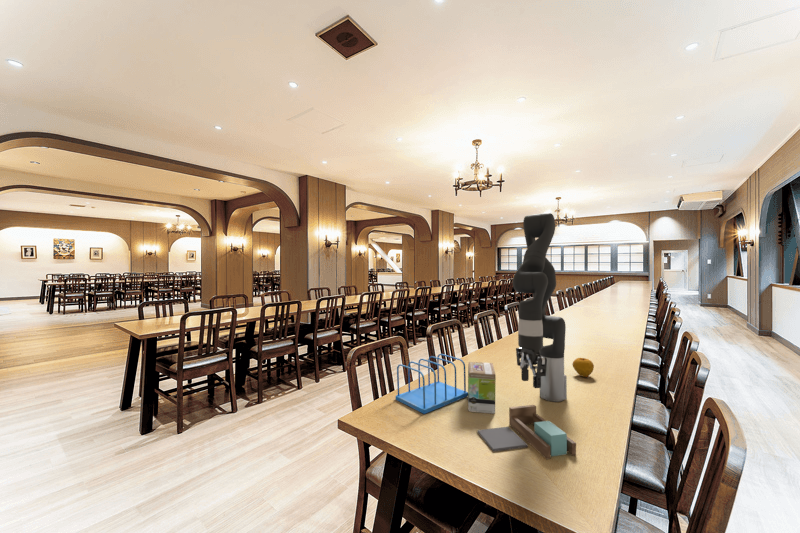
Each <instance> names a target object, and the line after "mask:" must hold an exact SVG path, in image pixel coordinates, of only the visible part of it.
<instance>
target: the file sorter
mask: <svg viewBox="0 0 800 533" xmlns="http://www.w3.org/2000/svg"><path fill="white" fill-rule="evenodd" d="M440 356H442V357H448V358H451V359H454V360H458V361H460V362H461V363H462V365H463V389H461V388H458V387H457V367H456V365H455V364H454V362H453V361H450V360H448V359H445V358H440ZM431 358H432V359H437V360H436V362H435V361H432V360H431ZM421 361H424V362H427V365H425V364H422V363H421ZM439 361H443V362H446V363H448V364H449V363H450V364H451V365H452V366H453V368H454V386H452V385H450V384H448V383H447V370H446V368H445V366H444V365H443V364H442V363H441V364H440V362H439ZM430 363H431V364H434V365H436V366H437V367H436V368H437V369H436V370H437V371H436V372H437V373H436V372H435V370H434V368H432V367H431V366H430ZM411 364H414V365H417V369H416V368H413V367H410V366H411ZM400 367H403V368H406V369H407V376H408V378H407V379H408V383H407V384H408V385H407V386H408V388H407V389H408V391H406V392H402V393H400V376H399V369H400ZM421 367H423V368H426V369H427V371H428V372H427V373H428V374H427V375H428V377H427V378H428V379H427V380H428V381H427V382H428V384H426V385H425V381H426V380H425V376H424V374H423V372H422V371H421ZM440 367H441V368H442V369H443V372H444V374H443V377H444V382H441V381H440ZM411 370H412V371H414V372H417V373H418V374H417V375H418V377H417V378H418V387H417V388H414V389H411V377H410V376H411ZM430 371H432V373H433V376H434V377H433V382H432V383H431V381H430V380H431V379H430V378H431V377H430V376H431V374H430V373H431V372H430ZM436 374H437V375H436ZM421 377H422V386H421ZM396 380H397V382H396V384H397V394H396V395H395V400H396V401H397V402H399V403H402V404H403V405H406V406H408V407H409V408H412V409H414V410H415V411H416V412H417V411H418V412H420V413H421V414H422V415H425V414H427V413H430V412H433V411H435V410H437V409H440V408H442V407H445V406H447V405H450V404H452V403H455V402H457V401H459V400H462V399H464V398H468V391H467V390H466V389H467V386H466V384H467V383H466V364H465V362H464V360H463V359H461V358H458V357H455V356H451V355H447V354H444V353H439V354H438V355H437V356H433V355H431V356H429V357H428V359H425V358H420V359H419V360H418V362H416V361H413V360H412V361H409V363H408V365H404V364H401V363H400V364H398V365H397V367H396Z"/></svg>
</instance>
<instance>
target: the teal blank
mask: <svg viewBox="0 0 800 533" xmlns="http://www.w3.org/2000/svg"><path fill="white" fill-rule="evenodd" d="M533 425H534V430H533V432H534V433H535V434H536V435H538V436H539V437H540V438H541V439H542V440H544V441H545V442H546V443H547V444H548V445H549V446H550V457H557V456H563V455H567V454H568V452H567V437H568V434H567V432H565V431H564V430H562V429H561V428H560V427H558V426H557V425H556V424H555V423H553V422H551V421H550V420H546V421H542V422H534V424H533Z"/></svg>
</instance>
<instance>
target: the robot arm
mask: <svg viewBox="0 0 800 533" xmlns="http://www.w3.org/2000/svg"><path fill="white" fill-rule="evenodd" d="M522 226H523V233H524V237H525V238H524V239H525V243H526V250H525V251H524V255H523V259H522V264H520V266H519V268H518V269H517V271H516V272H515V273H514V276H513V279H512V288H513V290H515V292H517V293H520V294H532V298H531V299H526V300H521V301H519V304H518V325H517V329H518V330H517V332H518V333H517V335H518V338H517V339H518V340H517V341H518V342H517V343H518V347H516V348H515V354H516V366H519V368H520V370H521V371H520V372H521V381H523V382H528V381H529V380H530V377H529V376H530V374H529V373H530V372H529V371H530V370H531V372H532V375H533V376H532V388H534V389H539V397H540V398H541V399H543V400H545V401H547V402H548V401H549V402H553V403H554V402H555V403H556V402H563V401H564V400H567V394H568V392H567V391H568V390H567V388H568V386H567V385H568V384H567V383H568V382H567V375H566V374H565V349H566V328H567V327H566V320H565V319H564V318H563V317H560V316H555V315H554V316H553V315H546V307H547V304H548V301H549V300H550V298H551V296H553V293H554V292H555V289H556V287H557V279H556V278H557V277H556V270H555V267H554V266H553V264H552V263H551V261H550V260H549V259H548V258H547V253H548V250H549V248H550V245H551V244H552V243H551V242H552V240H553V238H554V235H555V232H556V220H555V216H554V214H553V213H552V212H542V213H536V214H528V215H525V216H524V217H523V224H522ZM544 339H550V340H552V343H551V344H547V345H544ZM529 369H530V370H529Z"/></svg>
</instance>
